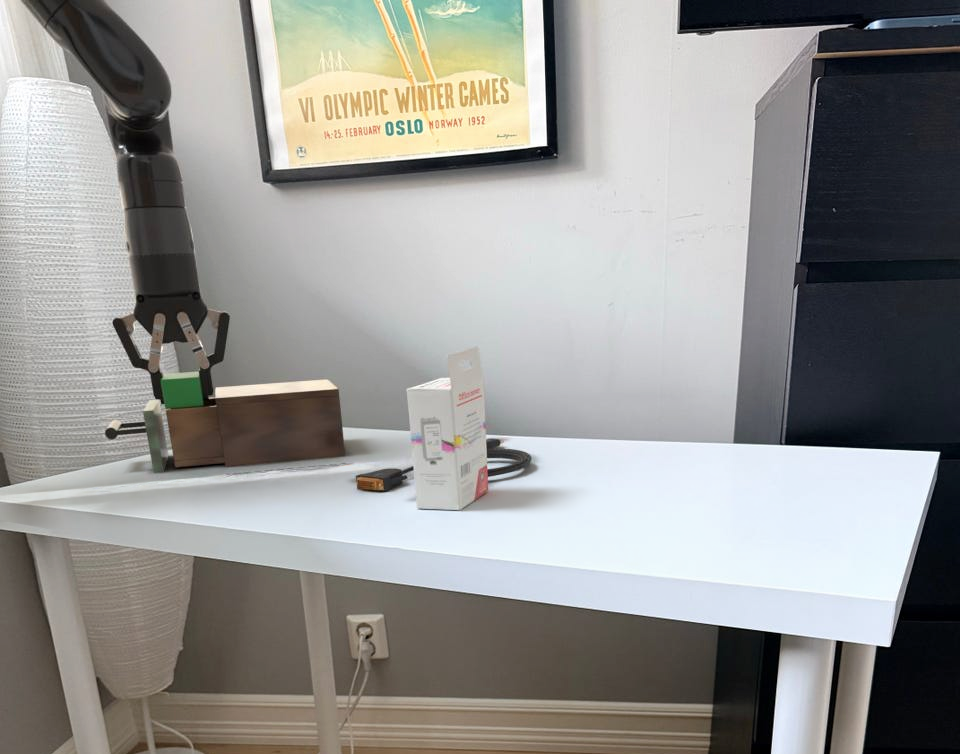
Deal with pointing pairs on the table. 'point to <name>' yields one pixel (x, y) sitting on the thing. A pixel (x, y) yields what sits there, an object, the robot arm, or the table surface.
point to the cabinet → (280, 422)
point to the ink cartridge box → (449, 435)
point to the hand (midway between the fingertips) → (185, 401)
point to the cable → (393, 476)
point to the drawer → (178, 434)
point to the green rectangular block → (182, 390)
